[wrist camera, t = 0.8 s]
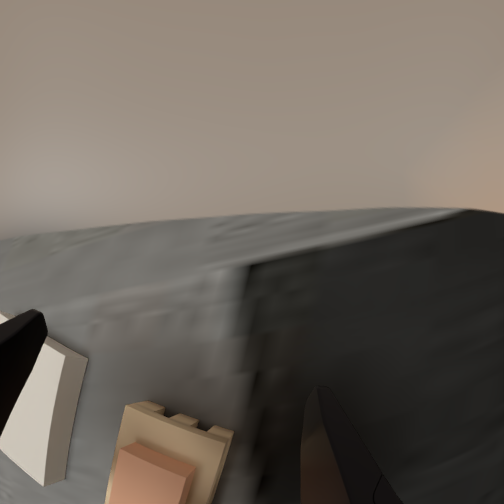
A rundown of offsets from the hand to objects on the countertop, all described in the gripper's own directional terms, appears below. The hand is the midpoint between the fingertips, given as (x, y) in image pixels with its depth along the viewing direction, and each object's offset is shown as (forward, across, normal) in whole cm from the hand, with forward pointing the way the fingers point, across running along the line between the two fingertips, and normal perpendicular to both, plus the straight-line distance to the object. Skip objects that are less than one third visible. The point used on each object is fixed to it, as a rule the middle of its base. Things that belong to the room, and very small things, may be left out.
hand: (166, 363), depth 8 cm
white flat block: (+4, +14, +16) cm, 22 cm away
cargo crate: (-1, +1, +13) cm, 13 cm away
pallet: (+2, 0, +15) cm, 15 cm away
